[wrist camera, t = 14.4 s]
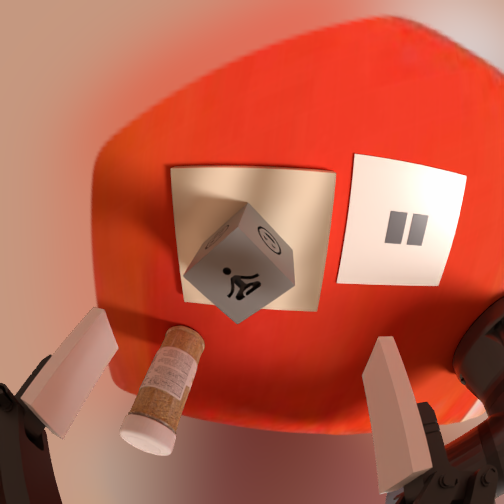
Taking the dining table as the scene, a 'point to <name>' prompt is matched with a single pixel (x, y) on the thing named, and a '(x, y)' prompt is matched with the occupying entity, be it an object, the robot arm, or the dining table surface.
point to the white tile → (399, 222)
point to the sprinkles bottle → (164, 393)
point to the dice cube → (242, 265)
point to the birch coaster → (272, 211)
